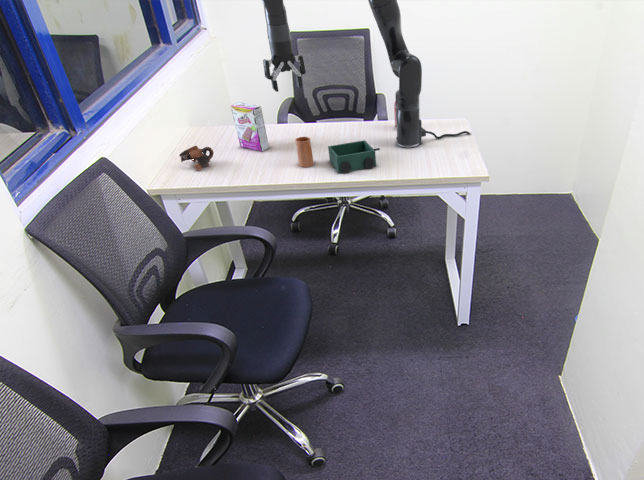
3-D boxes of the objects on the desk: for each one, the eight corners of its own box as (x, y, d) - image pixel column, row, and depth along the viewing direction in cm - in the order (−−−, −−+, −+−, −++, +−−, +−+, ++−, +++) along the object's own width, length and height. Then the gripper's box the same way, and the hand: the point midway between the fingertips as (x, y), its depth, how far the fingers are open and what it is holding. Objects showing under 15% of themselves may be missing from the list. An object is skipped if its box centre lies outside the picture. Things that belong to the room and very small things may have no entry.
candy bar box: (239, 147, 205) (229, 105, 195) (247, 143, 209) (238, 101, 198) (262, 152, 202) (253, 109, 191) (270, 147, 205) (261, 105, 194)
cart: (366, 155, 198) (364, 140, 195) (376, 166, 190) (375, 150, 186) (329, 161, 194) (327, 146, 190) (338, 173, 186) (336, 157, 182)
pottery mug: (190, 175, 187) (176, 153, 184) (190, 177, 195) (177, 157, 192) (220, 159, 190) (206, 138, 187) (218, 162, 198) (205, 142, 195)
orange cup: (311, 160, 195) (308, 135, 189) (315, 165, 191) (311, 140, 185) (297, 163, 193) (293, 137, 187) (301, 168, 190) (297, 142, 183)
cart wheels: (374, 152, 200) (373, 141, 198) (386, 165, 191) (386, 154, 188) (331, 160, 195) (329, 149, 192) (341, 174, 185) (340, 162, 183)
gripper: (263, 43, 168) (272, 95, 178) (303, 38, 174) (310, 88, 184) (255, 39, 173) (265, 90, 183) (295, 34, 178) (302, 83, 189)
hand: (288, 89), depth 184 cm, fingers open, 8 cm apart
